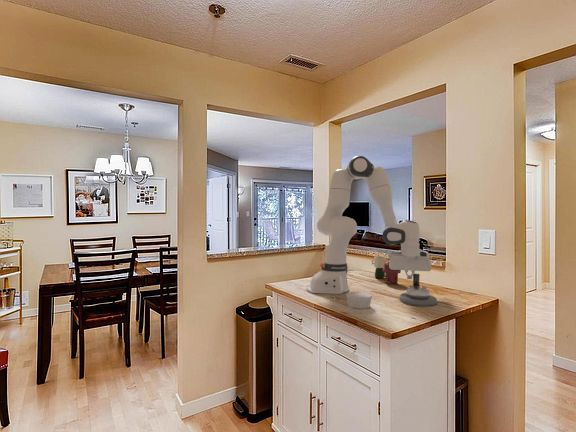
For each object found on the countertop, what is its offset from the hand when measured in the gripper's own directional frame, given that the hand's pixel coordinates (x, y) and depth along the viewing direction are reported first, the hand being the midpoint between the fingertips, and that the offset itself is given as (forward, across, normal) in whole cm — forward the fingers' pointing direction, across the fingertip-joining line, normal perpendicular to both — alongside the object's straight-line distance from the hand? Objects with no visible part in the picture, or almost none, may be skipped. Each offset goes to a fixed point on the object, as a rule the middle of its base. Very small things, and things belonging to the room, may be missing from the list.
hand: (409, 278), depth 173 cm
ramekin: (+7, -25, -30) cm, 39 cm away
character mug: (+8, -13, +34) cm, 38 cm away
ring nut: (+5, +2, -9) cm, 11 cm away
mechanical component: (+8, -7, +21) cm, 23 cm away
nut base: (+7, +2, -15) cm, 17 cm away
